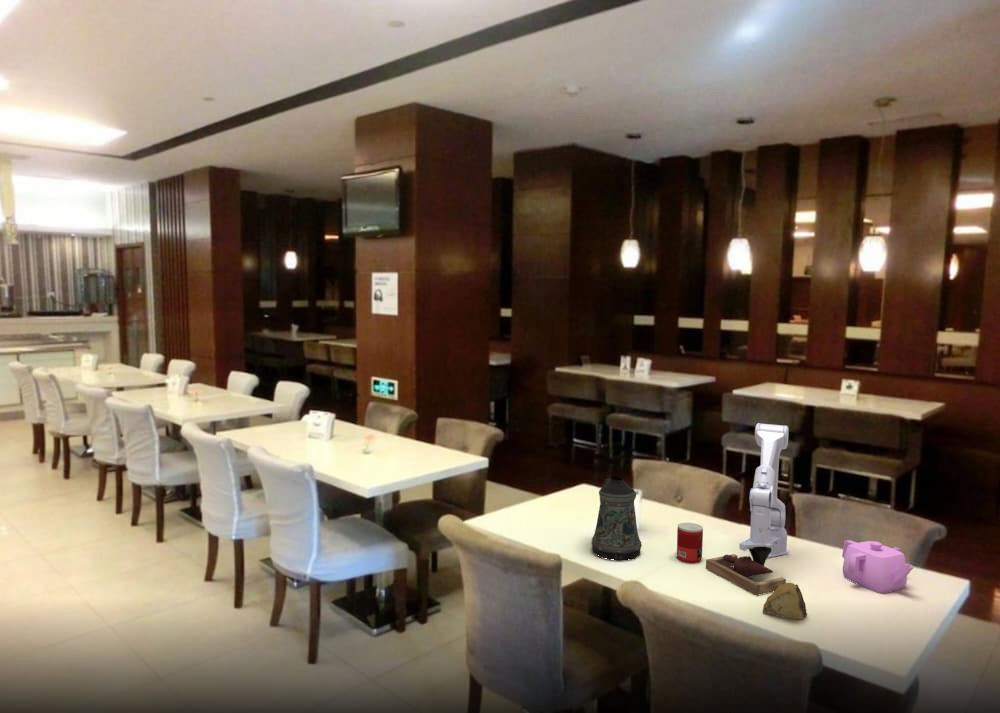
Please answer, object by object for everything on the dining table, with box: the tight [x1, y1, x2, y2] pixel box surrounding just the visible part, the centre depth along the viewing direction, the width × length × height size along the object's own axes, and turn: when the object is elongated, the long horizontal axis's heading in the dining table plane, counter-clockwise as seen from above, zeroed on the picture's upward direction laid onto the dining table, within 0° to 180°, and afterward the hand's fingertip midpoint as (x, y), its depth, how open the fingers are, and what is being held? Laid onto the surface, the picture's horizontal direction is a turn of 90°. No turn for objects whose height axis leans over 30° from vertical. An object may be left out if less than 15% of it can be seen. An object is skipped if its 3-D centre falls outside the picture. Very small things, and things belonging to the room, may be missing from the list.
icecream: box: [723, 554, 774, 580], centre depth 206 cm, size 7×7×15 cm
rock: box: [762, 582, 808, 620], centre depth 183 cm, size 11×9×10 cm
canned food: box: [676, 522, 704, 564], centre depth 220 cm, size 8×8×11 cm
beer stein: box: [591, 475, 642, 561], centre depth 227 cm, size 16×19×25 cm
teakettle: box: [841, 539, 914, 594], centre depth 203 cm, size 17×17×12 cm
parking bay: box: [705, 553, 787, 596], centre depth 206 cm, size 12×21×3 cm, turn 24°
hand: (758, 569), depth 208 cm, fingers closed
